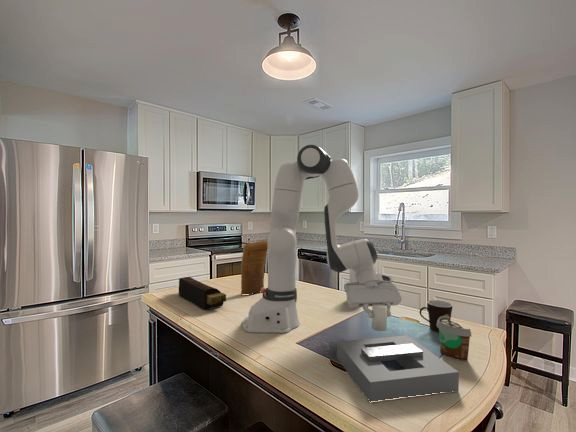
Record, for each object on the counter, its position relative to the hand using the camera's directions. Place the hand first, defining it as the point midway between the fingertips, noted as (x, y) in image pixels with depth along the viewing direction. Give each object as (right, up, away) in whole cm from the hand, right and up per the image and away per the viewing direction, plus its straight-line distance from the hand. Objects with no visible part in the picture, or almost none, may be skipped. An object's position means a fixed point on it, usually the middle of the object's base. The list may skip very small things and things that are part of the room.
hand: (380, 316), depth 105 cm
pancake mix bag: (-51, -7, +57) cm, 77 cm away
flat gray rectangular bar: (-3, -3, -21) cm, 22 cm away
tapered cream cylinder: (0, -4, +1) cm, 4 cm away
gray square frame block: (-4, -8, -21) cm, 23 cm away
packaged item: (-76, -7, +43) cm, 88 cm away
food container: (+19, -9, -10) cm, 23 cm away
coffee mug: (+24, -8, +10) cm, 27 cm away
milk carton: (+2, -7, +44) cm, 45 cm away
